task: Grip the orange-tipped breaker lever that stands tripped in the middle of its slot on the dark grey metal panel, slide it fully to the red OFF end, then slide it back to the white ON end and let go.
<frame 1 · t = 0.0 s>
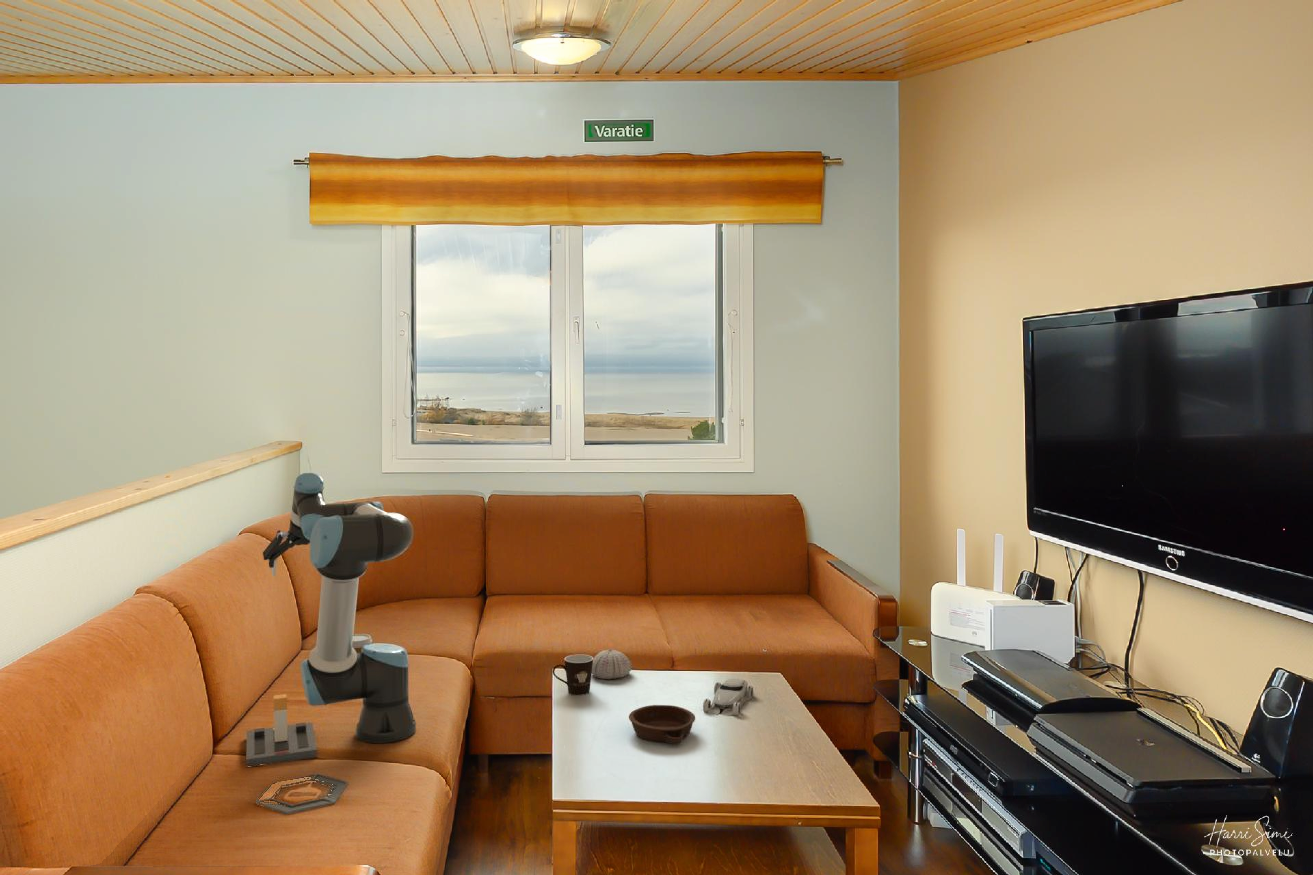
hand: (297, 571, 283), 36 cm above the table, tool tilted 35°, fingers open, 13 cm apart
dish: (661, 734, 251), on the table
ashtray: (302, 796, 213), on the table
sea urchin shell: (610, 675, 301), on the table
breaker lever: (280, 717, 240), point 8 cm above the table, slide at 0.0 cm
coffee mug: (573, 691, 285), on the table
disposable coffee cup: (357, 675, 299), on the table
car model: (729, 702, 276), on the table
panel: (281, 747, 240), on the table
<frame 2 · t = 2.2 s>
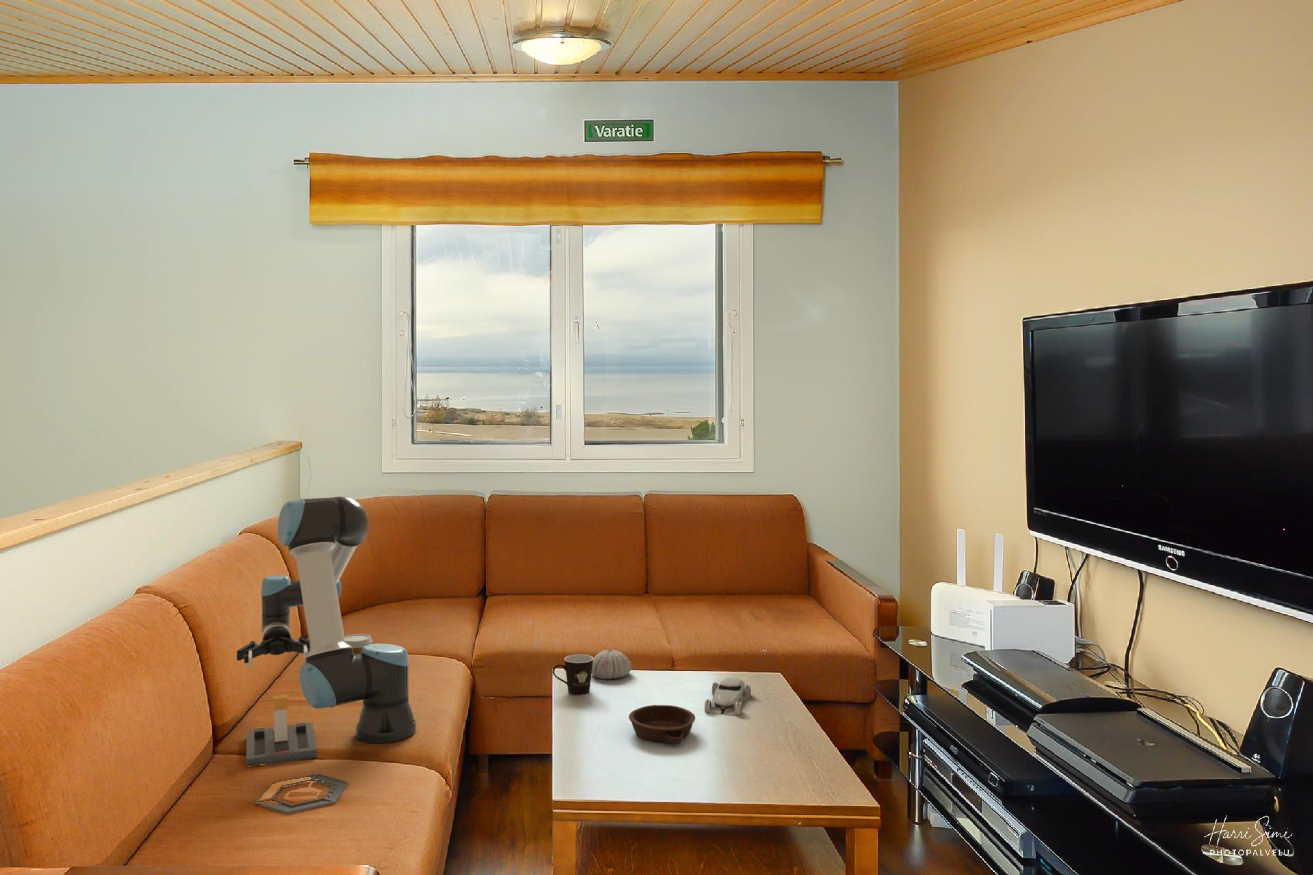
hand: (278, 659, 248), 20 cm above the table, tool horizontal, fingers open, 13 cm apart
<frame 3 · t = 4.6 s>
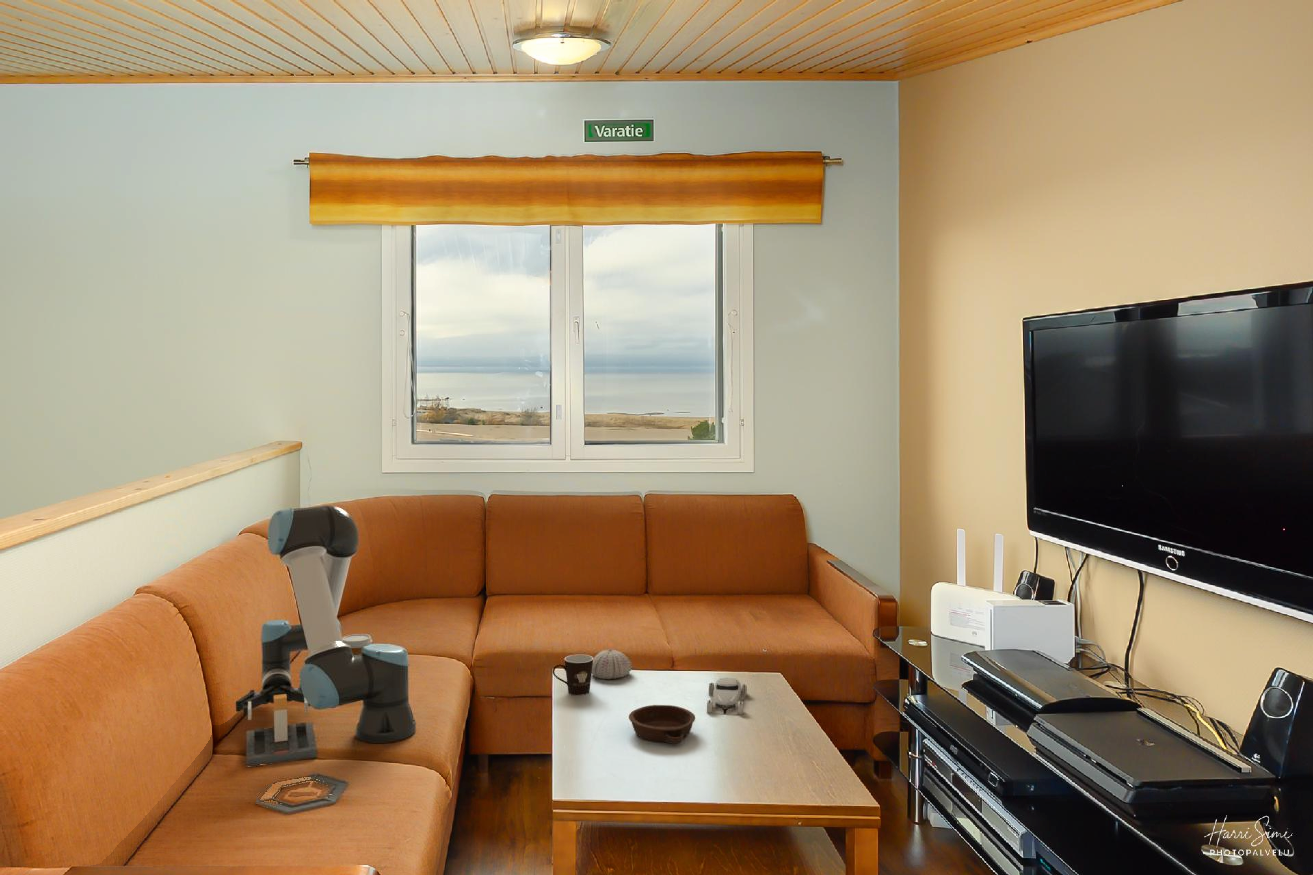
hand: (278, 711, 243), 8 cm above the table, tool horizontal, fingers open, 13 cm apart
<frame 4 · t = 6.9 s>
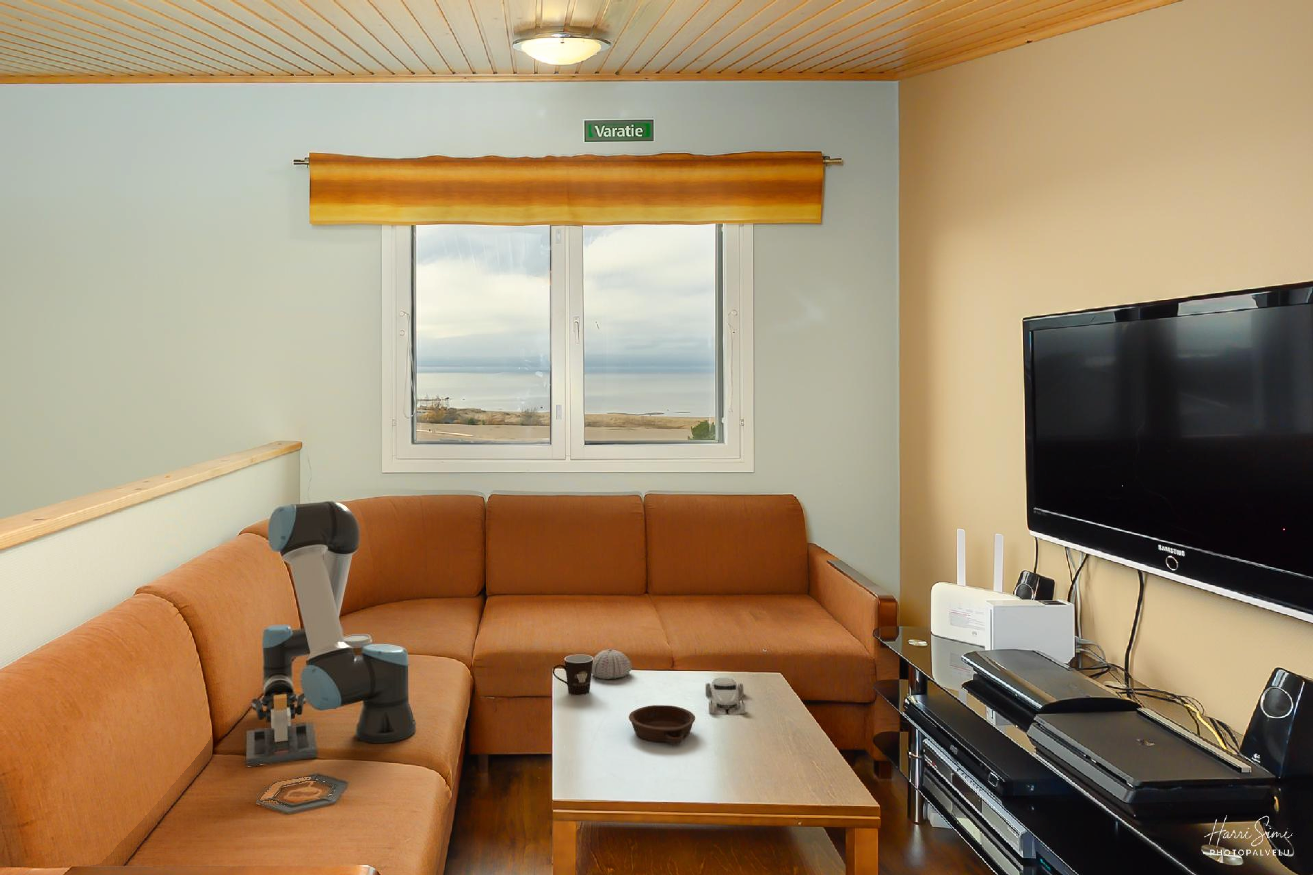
hand: (281, 721, 235), 8 cm above the table, tool horizontal, fingers closed on breaker lever, 3 cm apart
breaker lever: (280, 717, 240), point 8 cm above the table, slide at 0.0 cm, touching gripper
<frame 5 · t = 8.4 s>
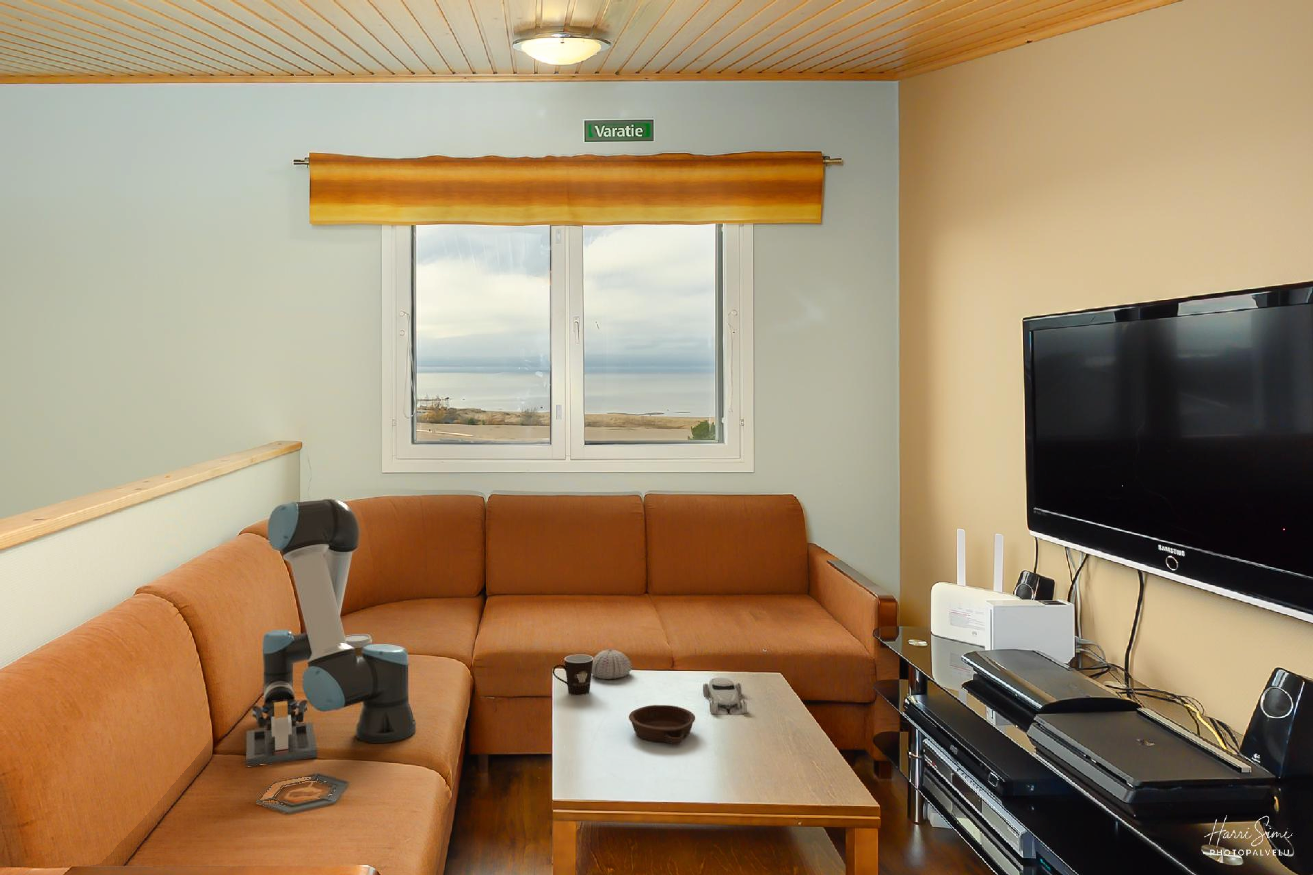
hand: (281, 729, 229), 8 cm above the table, tool horizontal, fingers closed on breaker lever, 3 cm apart
breaker lever: (281, 725, 234), point 8 cm above the table, slide at 5.8 cm, touching gripper
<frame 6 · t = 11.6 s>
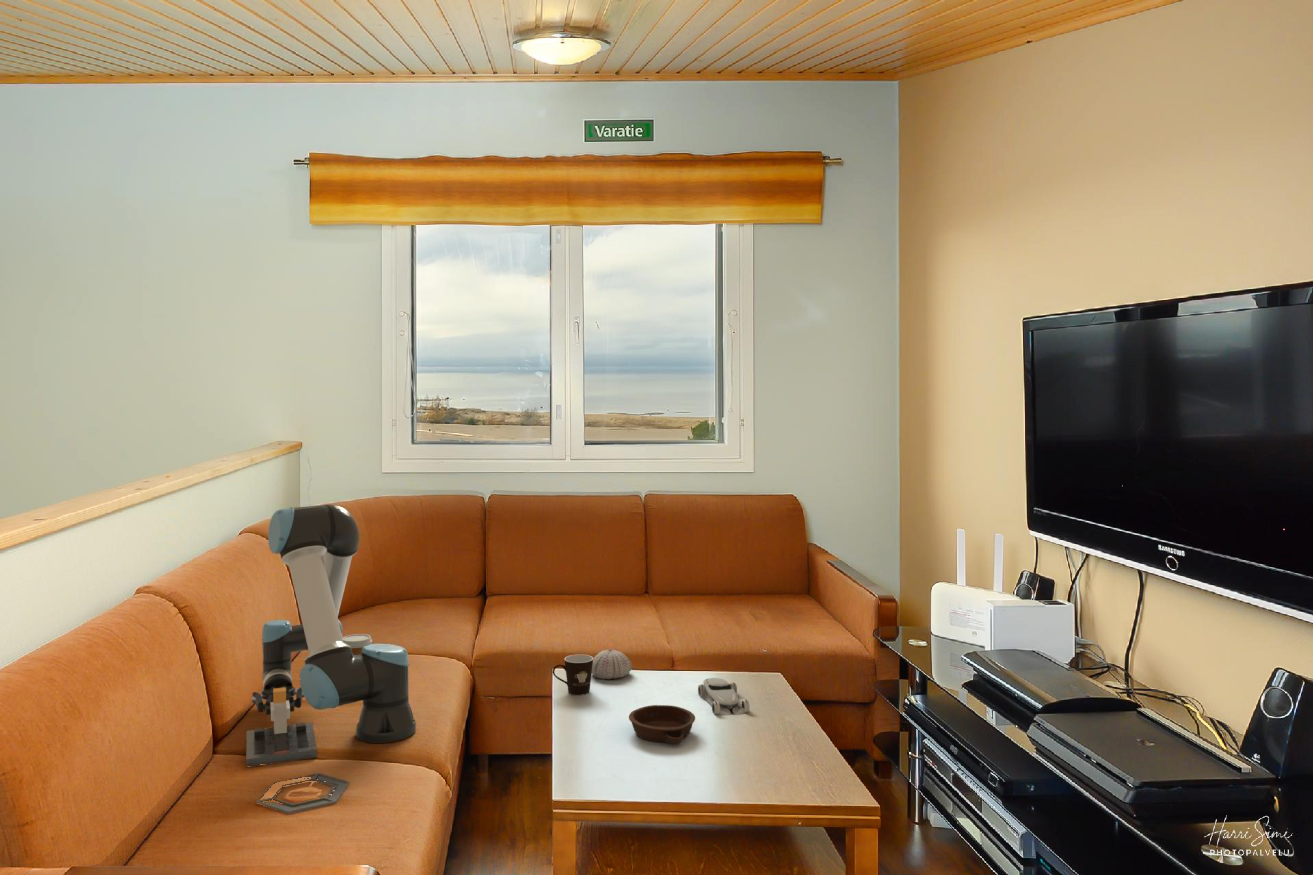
hand: (280, 714, 240), 8 cm above the table, tool horizontal, fingers closed on breaker lever, 3 cm apart
breaker lever: (280, 710, 245), point 8 cm above the table, slide at -5.7 cm, touching gripper
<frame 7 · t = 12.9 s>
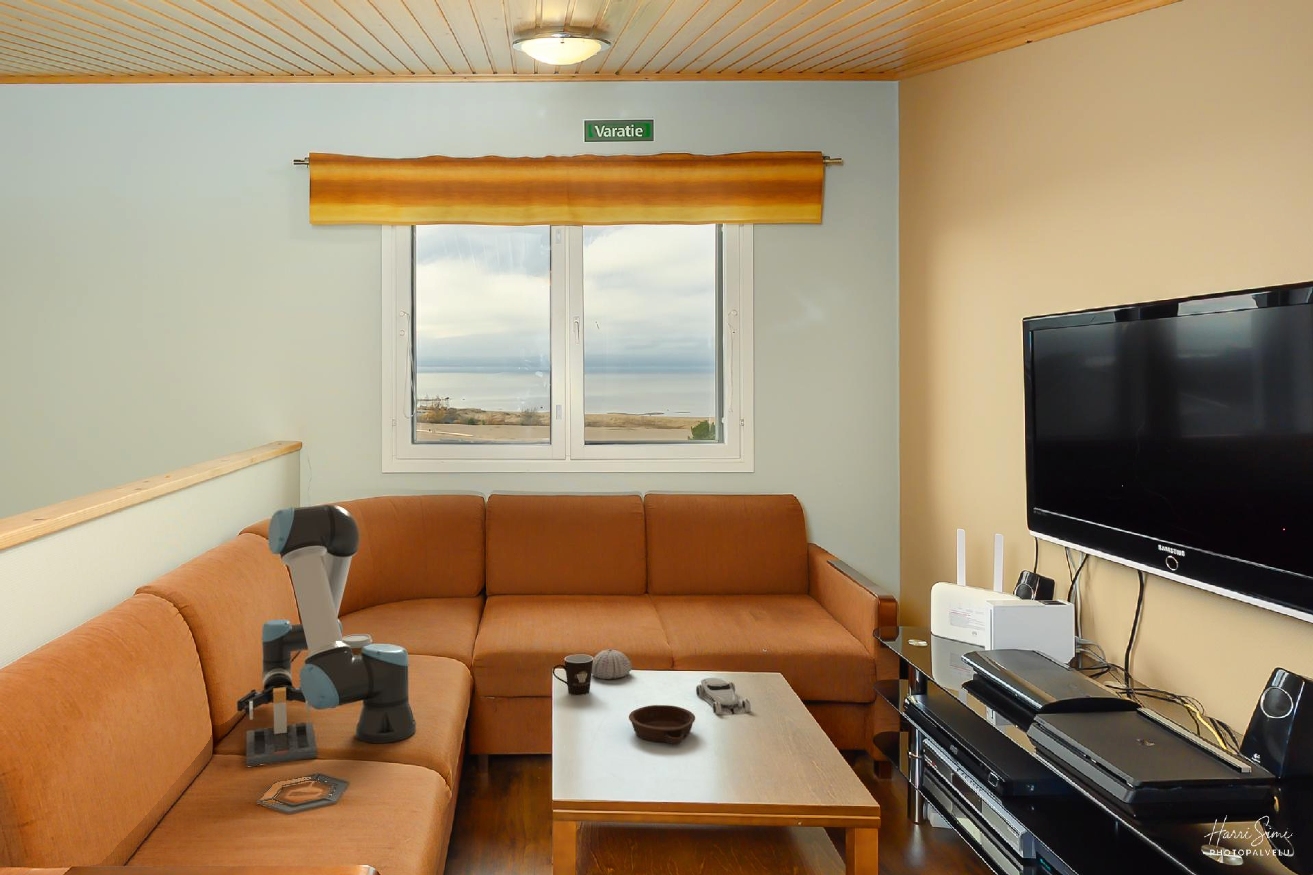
hand: (280, 710, 242), 9 cm above the table, tool horizontal, fingers open, 13 cm apart
breaker lever: (280, 710, 245), point 8 cm above the table, slide at -5.8 cm
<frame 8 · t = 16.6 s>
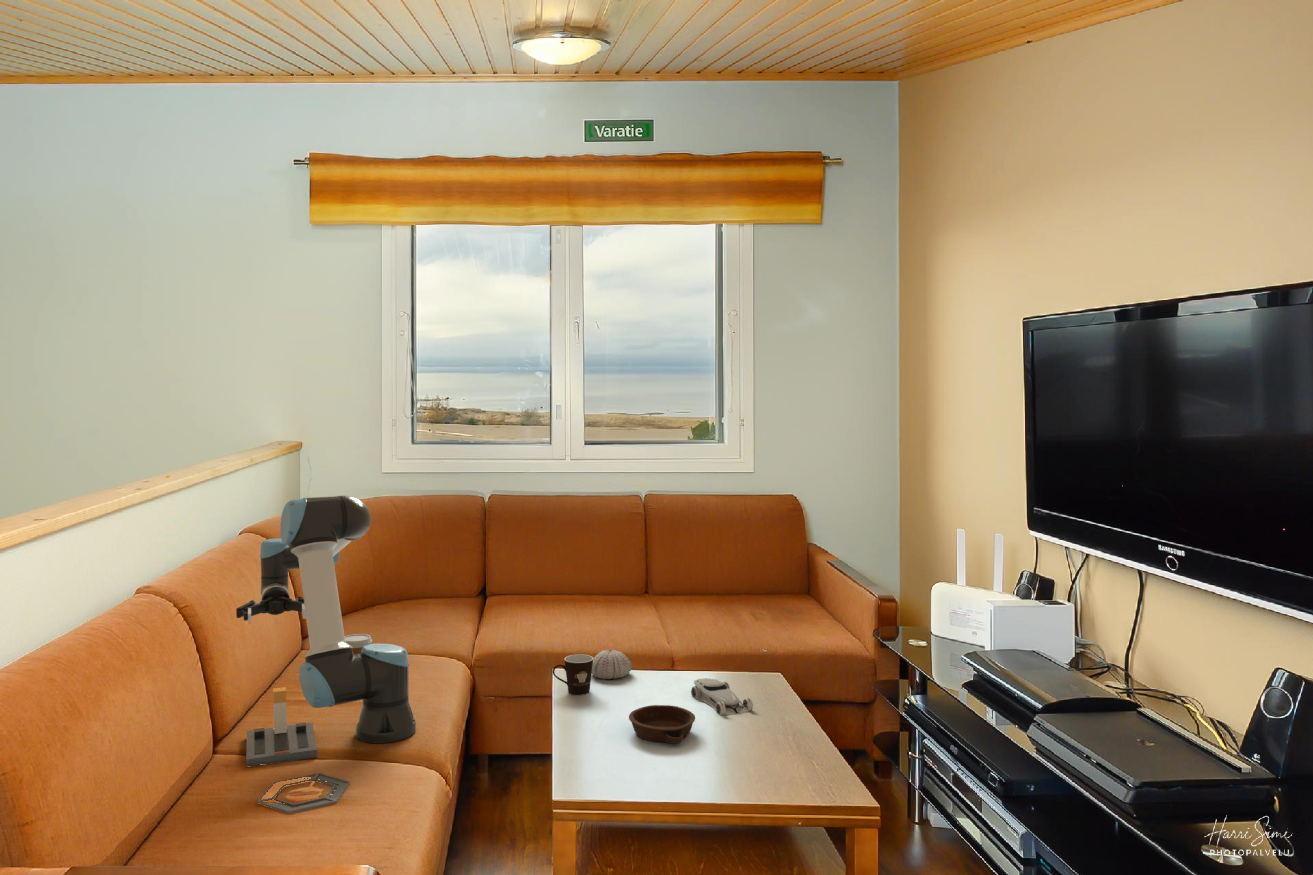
hand: (277, 616, 253), 30 cm above the table, tool horizontal, fingers open, 13 cm apart
at the end: breaker lever slide at -5.8 cm; the gripper is holding nothing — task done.
